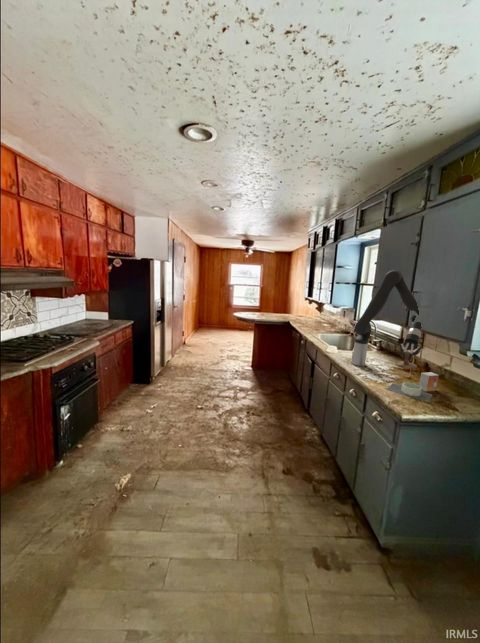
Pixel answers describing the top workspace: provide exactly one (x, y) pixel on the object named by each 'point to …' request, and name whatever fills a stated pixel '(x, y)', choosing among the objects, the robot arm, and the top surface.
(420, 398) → the mat
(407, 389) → the bowl
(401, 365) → the lid
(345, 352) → the top surface
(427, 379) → the small box
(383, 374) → the top surface
